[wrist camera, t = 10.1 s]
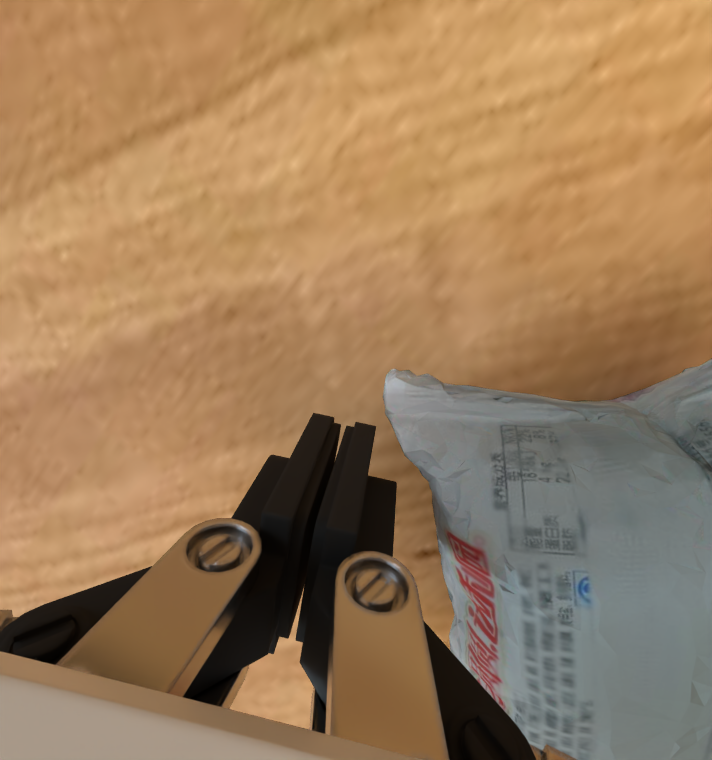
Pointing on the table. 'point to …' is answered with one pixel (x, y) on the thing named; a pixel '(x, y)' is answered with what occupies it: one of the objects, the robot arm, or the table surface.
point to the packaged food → (576, 556)
